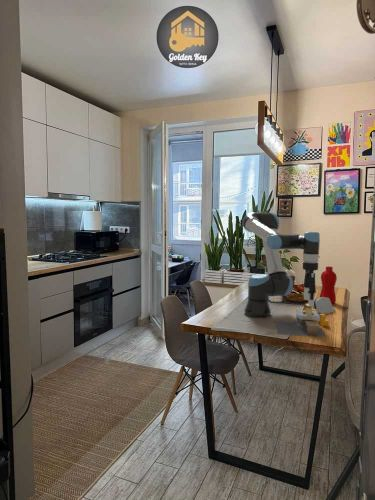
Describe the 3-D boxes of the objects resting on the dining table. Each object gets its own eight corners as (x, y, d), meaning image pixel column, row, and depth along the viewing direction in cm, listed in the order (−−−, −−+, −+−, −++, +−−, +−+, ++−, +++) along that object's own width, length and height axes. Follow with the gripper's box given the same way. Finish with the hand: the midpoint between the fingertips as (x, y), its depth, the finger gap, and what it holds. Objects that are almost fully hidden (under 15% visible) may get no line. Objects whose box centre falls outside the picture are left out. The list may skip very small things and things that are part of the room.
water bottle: (329, 300, 243) (331, 265, 241) (337, 304, 232) (339, 267, 230) (316, 300, 243) (318, 265, 240) (323, 304, 232) (325, 267, 229)
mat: (278, 334, 168) (278, 334, 168) (274, 321, 190) (274, 320, 190) (326, 338, 164) (326, 337, 164) (316, 324, 187) (316, 323, 187)
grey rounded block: (321, 315, 204) (316, 298, 206) (314, 316, 208) (310, 299, 210) (335, 311, 215) (331, 295, 216) (328, 312, 218) (324, 296, 220)
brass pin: (305, 328, 178) (305, 305, 177) (303, 325, 181) (304, 303, 180) (312, 328, 177) (313, 305, 176) (311, 326, 181) (312, 303, 180)
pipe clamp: (328, 326, 183) (328, 315, 182) (320, 327, 182) (321, 315, 182) (318, 320, 194) (318, 309, 194) (310, 320, 194) (311, 309, 194)
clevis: (301, 334, 167) (302, 320, 166) (295, 322, 187) (296, 309, 186) (323, 336, 165) (324, 322, 165) (315, 323, 185) (315, 311, 185)
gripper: (323, 265, 164) (321, 309, 166) (313, 259, 189) (311, 297, 191) (307, 264, 166) (305, 308, 167) (299, 259, 190) (297, 297, 192)
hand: (308, 302), depth 179 cm, fingers open, 13 cm apart
